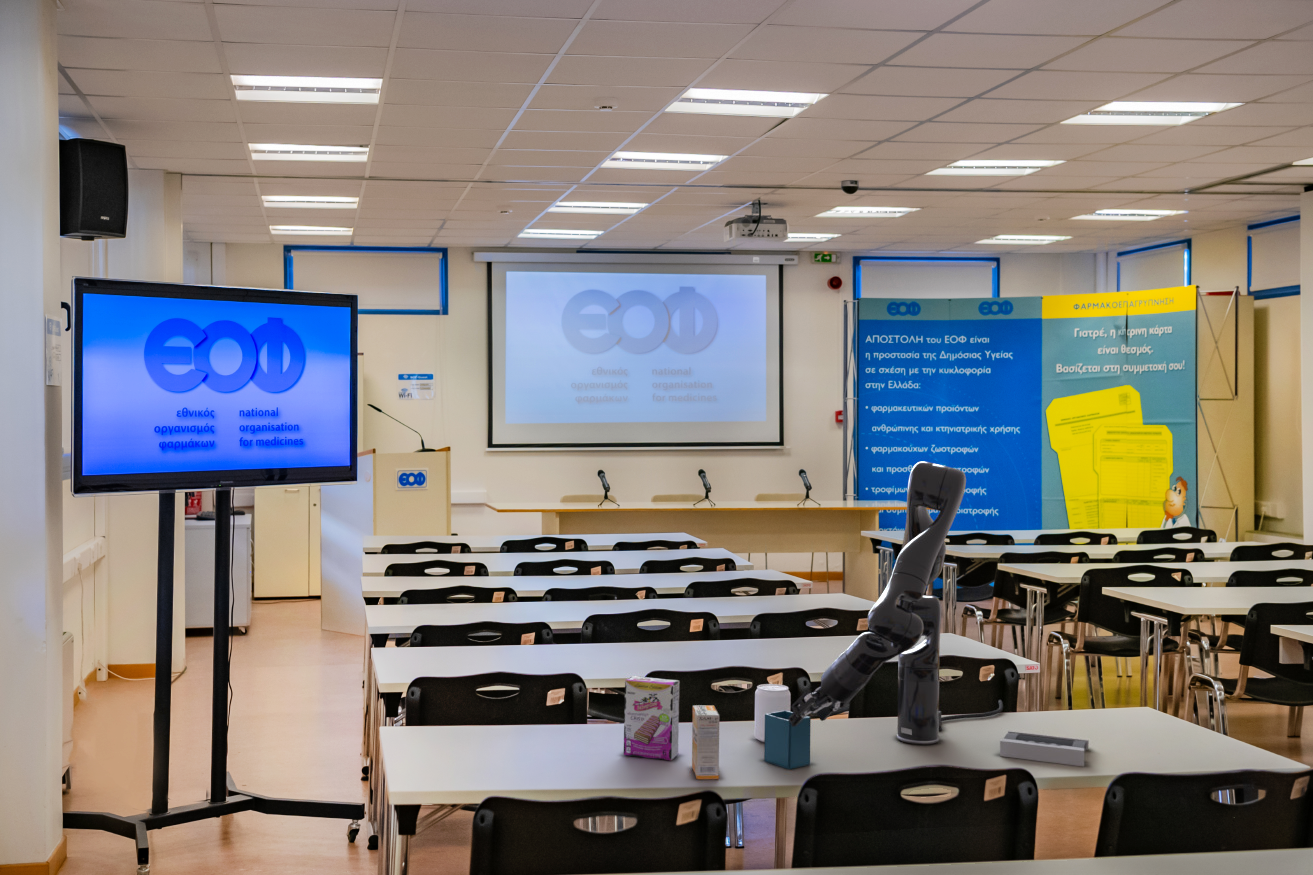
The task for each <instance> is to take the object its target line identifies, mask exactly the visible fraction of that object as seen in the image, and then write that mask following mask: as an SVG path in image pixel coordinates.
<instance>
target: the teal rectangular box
mask: <svg viewBox="0 0 1313 875" xmlns="http://www.w3.org/2000/svg"><path fill="white" fill-rule="evenodd" d="M793 712H794V711H791V710H790V711H786V710H784V711H779V712H774V713H768V714H765V739H764V742H763V743H764V747H763V751H764V752H763V753H764V754H763V761H764V762H765V763H769V764H772V765H774V766H778V767H781V768H783V769H786V770H793V769H797V768H801V767H805V766H810V765H811V720H812V719H811V716H809V715H807V716H805V717H804V718H803V720H802V721H801V722H800V723H799V724H798V725H797V726H794V727H793V726H792V725H791V723H790V721H789V717H790V716H791V714H792V713H793Z"/></svg>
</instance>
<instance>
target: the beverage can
mask: <svg viewBox="0 0 1313 875" xmlns="http://www.w3.org/2000/svg"><path fill="white" fill-rule="evenodd" d="M789 689H790V688H789V686H787V685H784V684H779V683H764V684H758V685H757V686H756V690H755V692H754V732H753V733H754V735H753V736H754V738H755V739H756V740H758V741H760V742H762V743H764V739H765V714H768V713H774V712H779V711H784V710H786V711H790V712H791V699H792V698H791V692H790V690H789Z"/></svg>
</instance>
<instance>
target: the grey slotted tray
mask: <svg viewBox="0 0 1313 875" xmlns="http://www.w3.org/2000/svg"><path fill="white" fill-rule="evenodd" d="M1089 741H1090V740H1088V739H1083V738H1082V739H1081V738H1072V737H1066V736H1065V737H1064V736H1054V735H1047V734H1040V733H1039V734H1038V733H1030V732H1022V731H1012V730H1008V731H1007V733H1006V734H1005V736H1004V737H1003V738H1000V740H999V756H1000V757H1006V758H1014V759H1020V760H1027V761H1028V760H1030V761H1037V762H1043V763H1054V764H1061V765H1069V766H1077V767H1085V754H1086V751H1089V749H1090V748H1089V745H1090V744H1089V743H1090V742H1089Z"/></svg>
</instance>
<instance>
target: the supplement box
mask: <svg viewBox="0 0 1313 875" xmlns="http://www.w3.org/2000/svg"><path fill="white" fill-rule="evenodd" d="M691 727H692V729H691V731H692V733H691V738H692V739H691V768H692V770H693V772H694V775H695V778H696V780H719V778H720V713H719V712H718V710H717V708H716V707H715V705H713V704H712V705H702V704H701V705H700V704H698V705H697V704H696V705H695V704H694V705H692V726H691Z"/></svg>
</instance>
